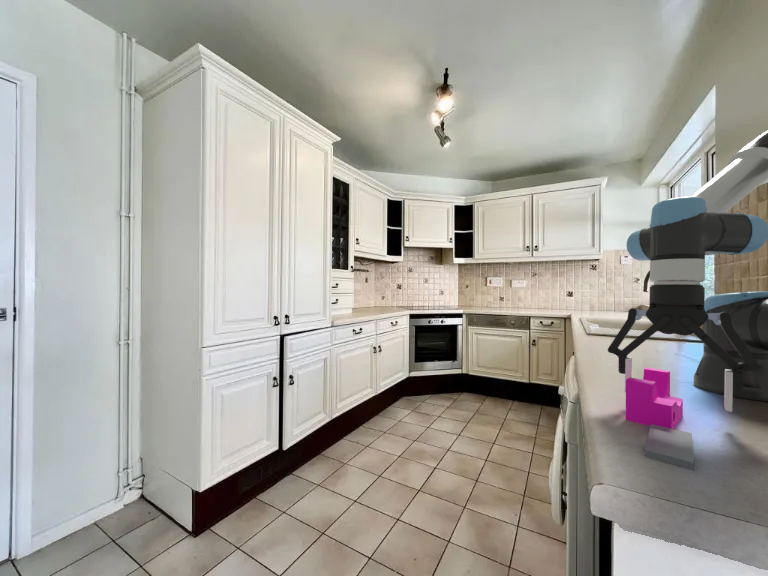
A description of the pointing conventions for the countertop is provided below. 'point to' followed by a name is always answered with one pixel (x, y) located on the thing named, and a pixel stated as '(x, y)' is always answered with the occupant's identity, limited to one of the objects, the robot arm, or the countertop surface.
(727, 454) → the countertop surface
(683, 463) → the baseplate
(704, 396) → the countertop surface
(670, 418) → the toy block
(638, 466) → the countertop surface
